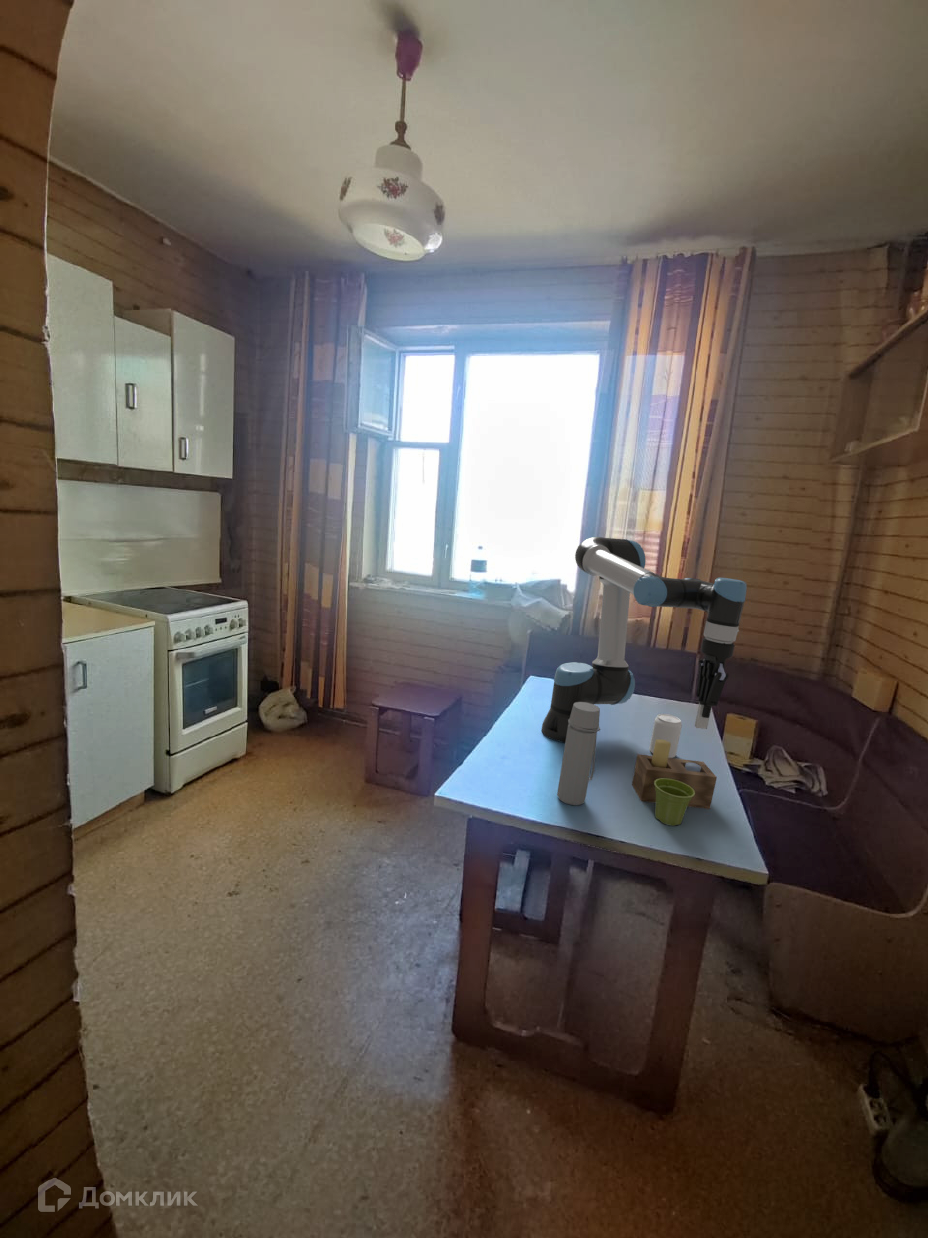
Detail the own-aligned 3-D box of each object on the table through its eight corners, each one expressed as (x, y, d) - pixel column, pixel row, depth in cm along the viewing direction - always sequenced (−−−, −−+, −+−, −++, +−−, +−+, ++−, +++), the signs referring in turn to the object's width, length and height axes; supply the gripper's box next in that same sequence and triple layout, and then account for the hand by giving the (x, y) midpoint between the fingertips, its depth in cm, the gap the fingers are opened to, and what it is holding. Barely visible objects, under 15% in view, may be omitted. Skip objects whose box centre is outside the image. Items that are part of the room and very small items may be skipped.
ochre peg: (652, 772, 150) (658, 744, 148) (648, 766, 154) (653, 738, 152) (667, 774, 150) (672, 746, 148) (662, 768, 154) (668, 740, 152)
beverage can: (676, 753, 183) (683, 717, 181) (674, 762, 176) (681, 725, 174) (650, 746, 186) (657, 711, 184) (647, 754, 179) (654, 718, 177)
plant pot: (647, 805, 147) (653, 774, 145) (686, 815, 145) (693, 783, 143) (648, 824, 138) (654, 791, 136) (689, 834, 136) (696, 800, 134)
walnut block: (640, 801, 149) (647, 769, 147) (631, 784, 158) (637, 754, 156) (709, 809, 149) (716, 777, 147) (696, 792, 158) (703, 761, 156)
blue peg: (682, 796, 151) (688, 768, 150) (678, 789, 155) (683, 761, 153) (697, 797, 151) (703, 769, 150) (692, 790, 155) (697, 763, 153)
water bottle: (567, 809, 141) (582, 713, 136) (550, 793, 148) (564, 701, 143) (597, 805, 144) (614, 711, 139) (579, 789, 151) (595, 700, 146)
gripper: (745, 648, 138) (725, 739, 143) (723, 635, 151) (705, 719, 156) (714, 644, 138) (695, 735, 143) (694, 632, 151) (677, 716, 156)
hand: (700, 727), depth 149 cm, fingers closed
